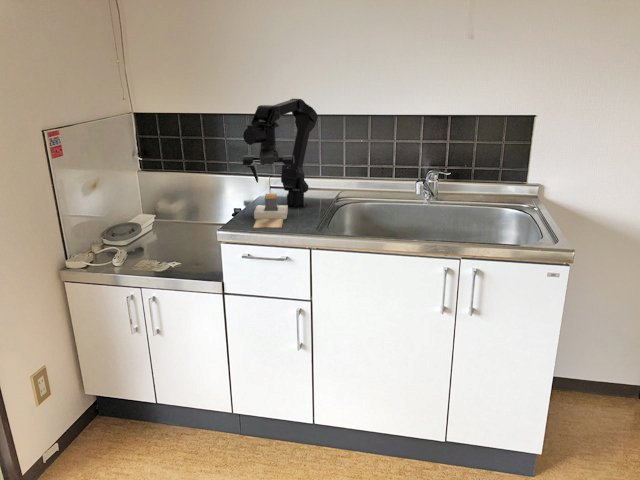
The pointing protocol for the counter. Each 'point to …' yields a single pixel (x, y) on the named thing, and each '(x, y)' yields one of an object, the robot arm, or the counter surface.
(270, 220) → the cork pad
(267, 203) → the plug
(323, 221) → the counter surface
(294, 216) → the counter surface
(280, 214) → the block
